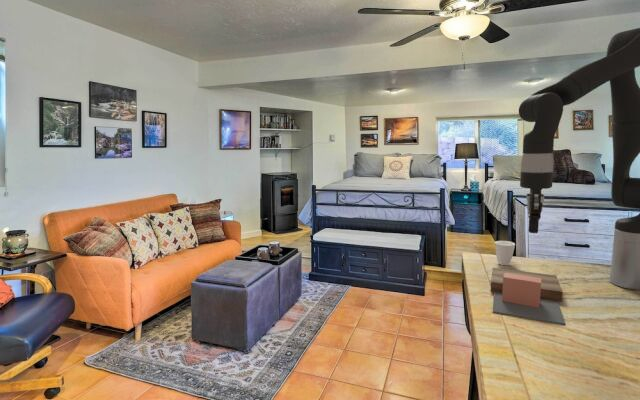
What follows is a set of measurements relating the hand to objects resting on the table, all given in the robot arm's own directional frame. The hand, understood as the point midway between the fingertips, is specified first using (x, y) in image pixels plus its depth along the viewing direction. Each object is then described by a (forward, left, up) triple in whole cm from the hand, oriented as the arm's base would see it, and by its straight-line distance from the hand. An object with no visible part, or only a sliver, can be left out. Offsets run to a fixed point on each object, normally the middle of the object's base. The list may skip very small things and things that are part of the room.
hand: (533, 232), depth 98 cm
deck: (-9, -1, -20) cm, 22 cm away
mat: (+6, -1, -20) cm, 21 cm away
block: (+2, -2, -16) cm, 16 cm away
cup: (-33, -6, -20) cm, 39 cm away
